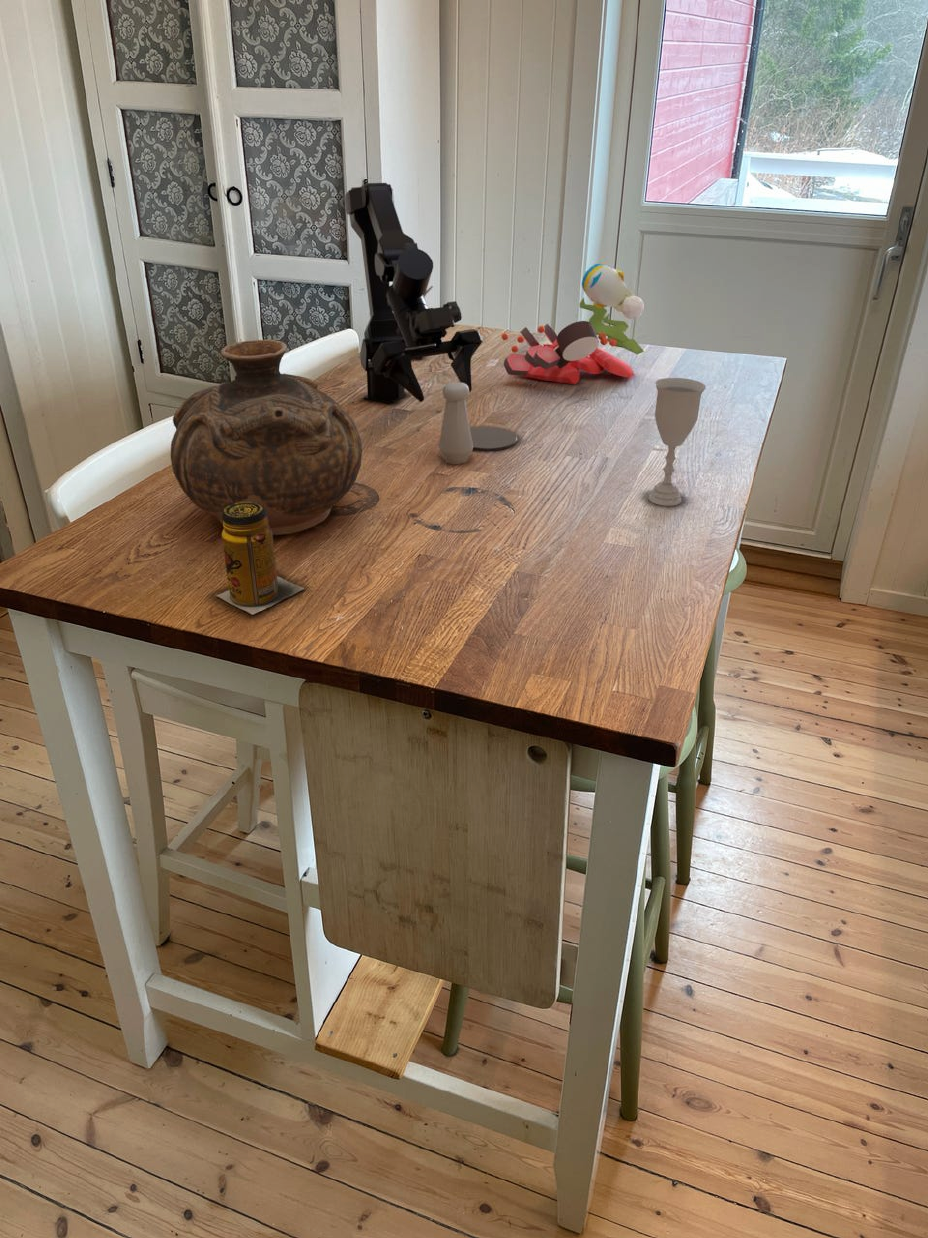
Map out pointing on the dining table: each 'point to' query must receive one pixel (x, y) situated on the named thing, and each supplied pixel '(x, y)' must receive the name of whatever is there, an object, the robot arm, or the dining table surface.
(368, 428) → the dining table surface
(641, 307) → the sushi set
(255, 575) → the condiment
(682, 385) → the chalice
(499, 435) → the coaster
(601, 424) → the dining table surface
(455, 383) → the salt shaker
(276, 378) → the vessel
